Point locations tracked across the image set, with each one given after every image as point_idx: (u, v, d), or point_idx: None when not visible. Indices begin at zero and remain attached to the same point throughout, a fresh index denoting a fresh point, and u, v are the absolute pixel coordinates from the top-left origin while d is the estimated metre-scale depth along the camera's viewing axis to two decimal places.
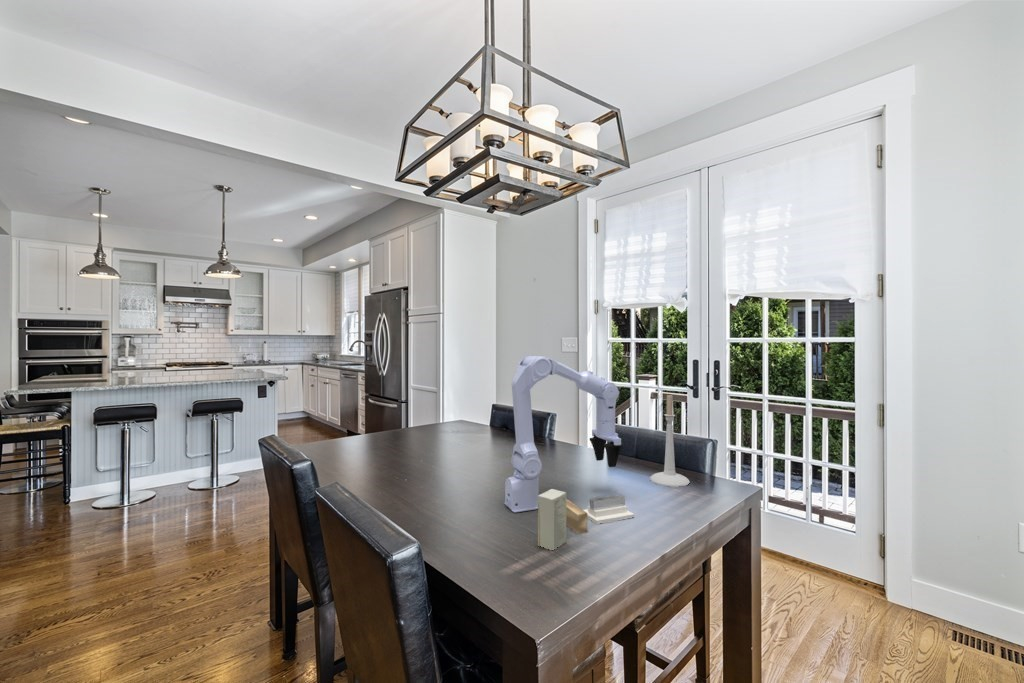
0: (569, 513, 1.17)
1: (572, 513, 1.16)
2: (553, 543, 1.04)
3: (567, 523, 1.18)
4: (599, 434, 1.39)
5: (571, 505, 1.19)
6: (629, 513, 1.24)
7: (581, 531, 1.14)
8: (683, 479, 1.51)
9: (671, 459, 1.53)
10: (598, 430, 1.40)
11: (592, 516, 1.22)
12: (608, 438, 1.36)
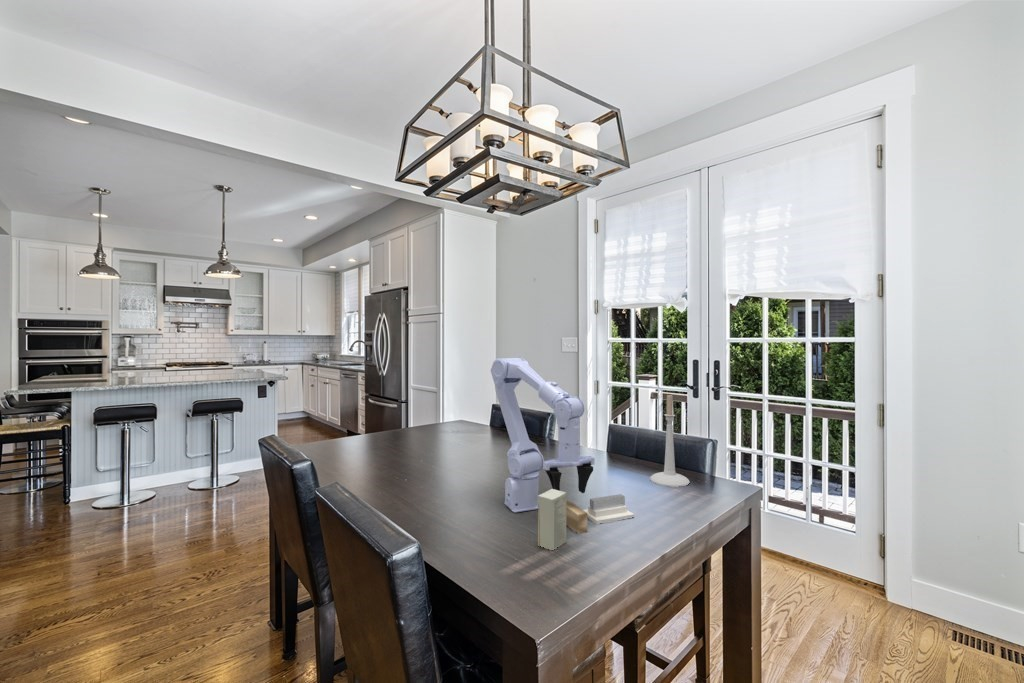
0: (569, 513, 1.17)
1: (572, 513, 1.16)
2: (553, 543, 1.04)
3: (567, 523, 1.18)
4: None
5: (571, 505, 1.19)
6: (629, 513, 1.24)
7: (581, 531, 1.14)
8: (683, 479, 1.51)
9: (671, 459, 1.53)
10: None
11: (592, 516, 1.22)
12: None
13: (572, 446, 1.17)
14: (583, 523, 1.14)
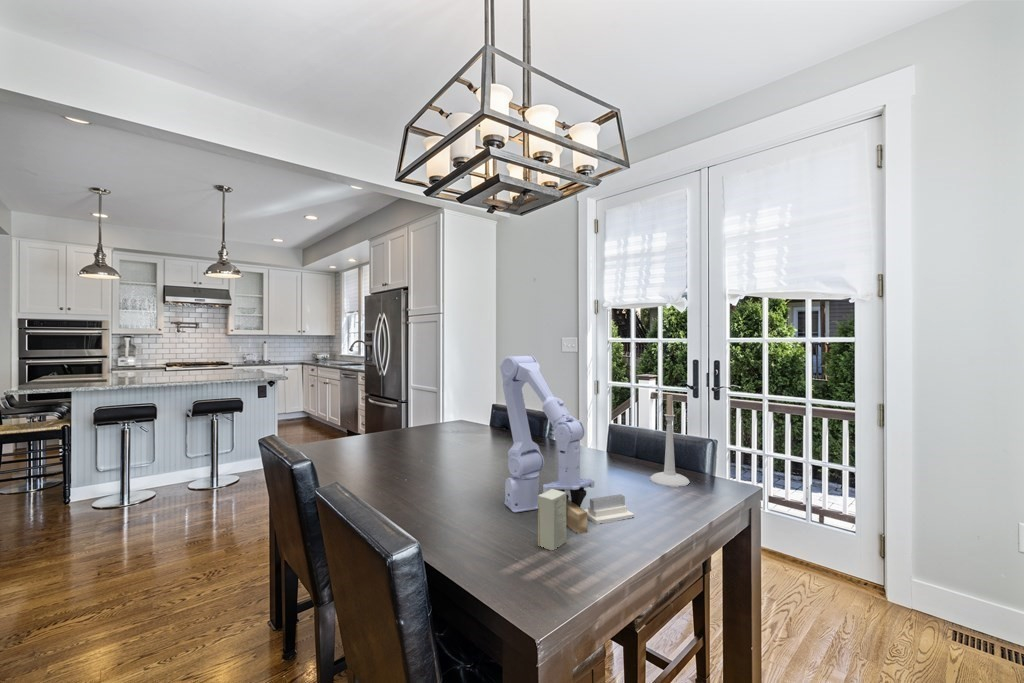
0: (569, 512, 1.17)
1: (572, 512, 1.16)
2: (553, 543, 1.04)
3: (567, 522, 1.18)
4: None
5: (571, 504, 1.19)
6: (629, 513, 1.24)
7: (581, 530, 1.14)
8: (683, 479, 1.51)
9: (671, 459, 1.53)
10: None
11: (592, 516, 1.22)
12: None
13: (572, 470, 1.17)
14: (583, 522, 1.14)
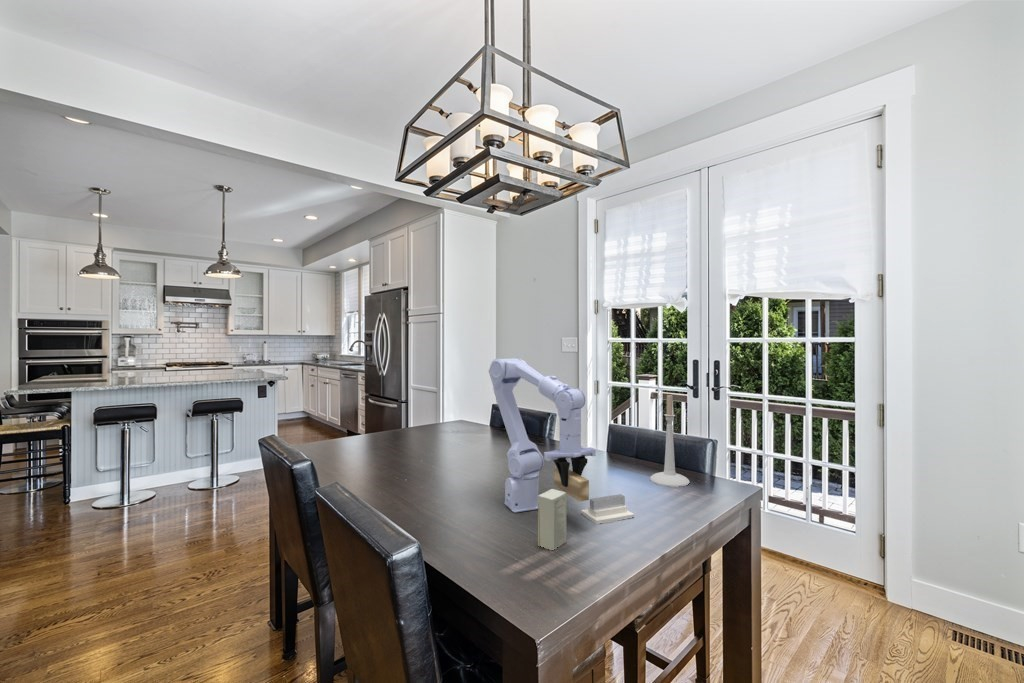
0: (571, 481, 1.17)
1: (574, 481, 1.15)
2: (553, 543, 1.04)
3: (569, 491, 1.18)
4: None
5: (573, 474, 1.19)
6: (629, 513, 1.24)
7: (583, 498, 1.14)
8: (683, 479, 1.51)
9: (671, 459, 1.53)
10: None
11: (592, 516, 1.22)
12: None
13: (573, 437, 1.17)
14: (585, 490, 1.14)
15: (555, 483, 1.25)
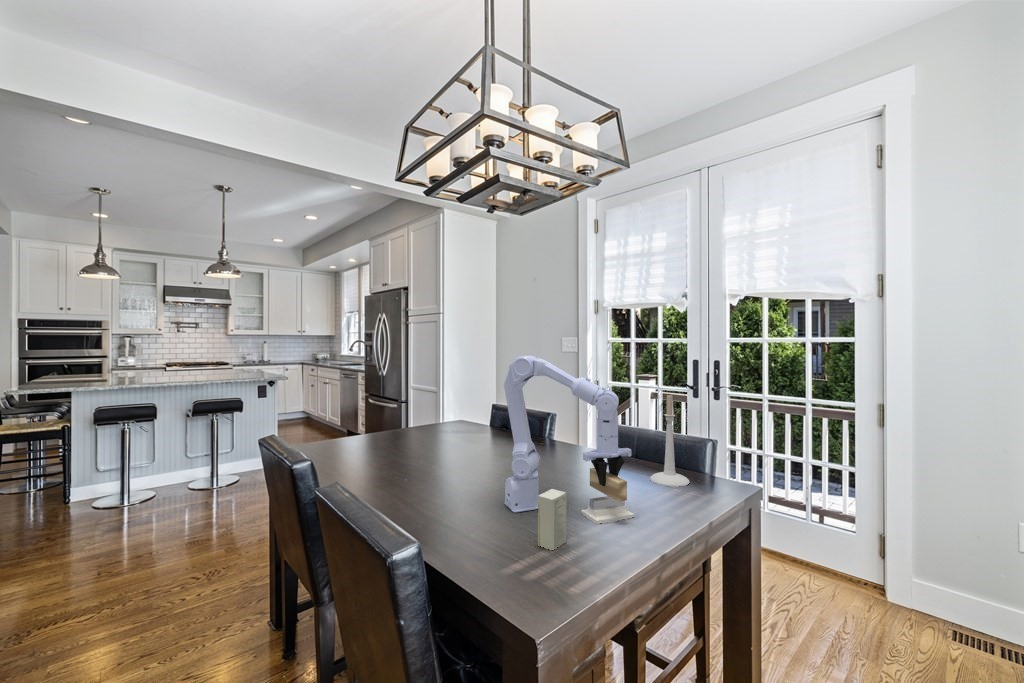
0: (609, 482, 1.21)
1: (612, 482, 1.20)
2: (553, 543, 1.04)
3: (606, 492, 1.22)
4: None
5: (610, 475, 1.24)
6: (629, 513, 1.24)
7: (621, 499, 1.18)
8: (683, 479, 1.51)
9: (671, 459, 1.53)
10: None
11: (592, 516, 1.22)
12: None
13: (611, 438, 1.22)
14: (623, 491, 1.18)
15: (591, 484, 1.30)
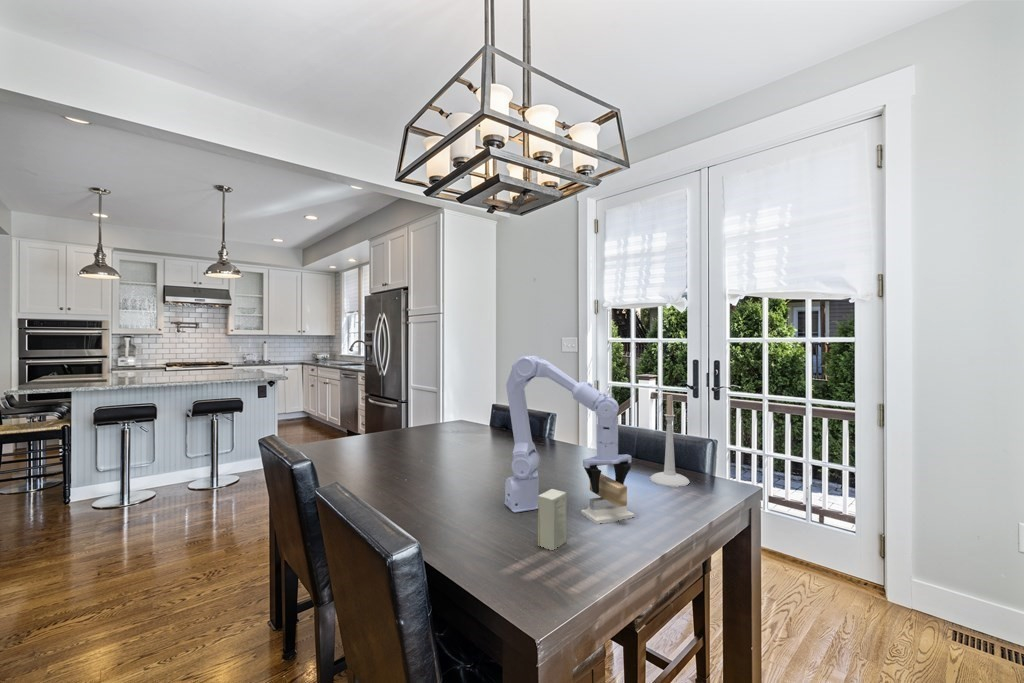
0: (609, 487, 1.21)
1: (612, 487, 1.20)
2: (553, 543, 1.04)
3: (606, 497, 1.22)
4: None
5: (610, 480, 1.24)
6: (629, 513, 1.24)
7: (621, 504, 1.18)
8: (683, 479, 1.51)
9: (671, 459, 1.53)
10: None
11: (592, 516, 1.22)
12: None
13: (611, 445, 1.22)
14: (623, 496, 1.18)
15: (591, 489, 1.30)
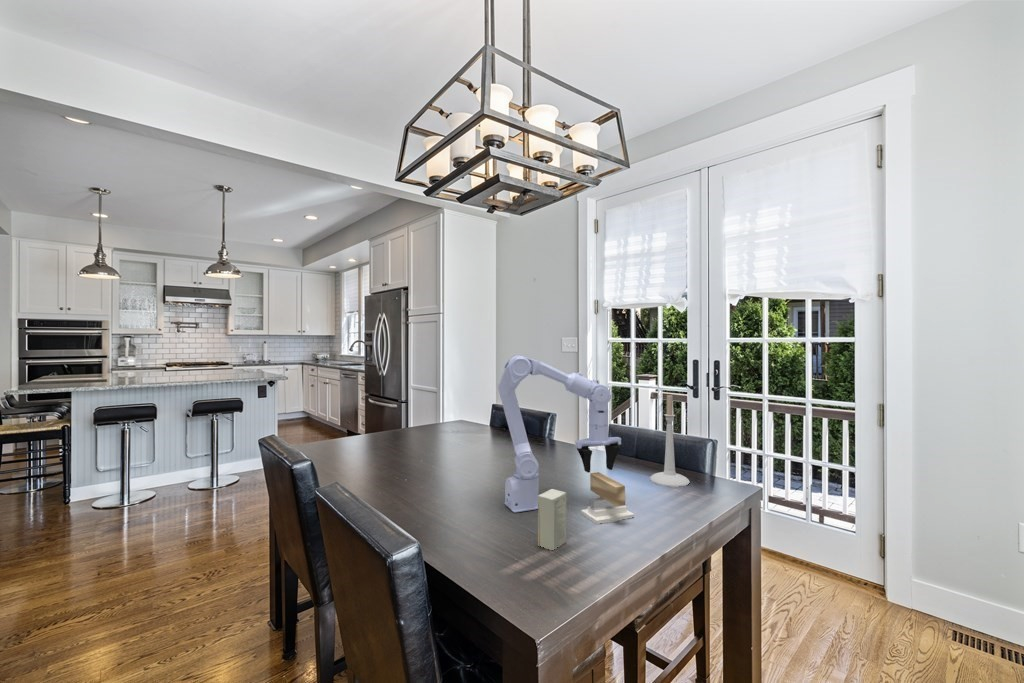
0: (607, 487, 1.22)
1: (610, 486, 1.20)
2: (553, 543, 1.04)
3: (605, 497, 1.23)
4: None
5: (609, 480, 1.24)
6: (629, 513, 1.24)
7: (619, 503, 1.18)
8: (683, 479, 1.51)
9: (671, 459, 1.53)
10: None
11: (592, 516, 1.22)
12: None
13: (602, 427, 1.31)
14: (621, 495, 1.18)
15: (591, 489, 1.30)
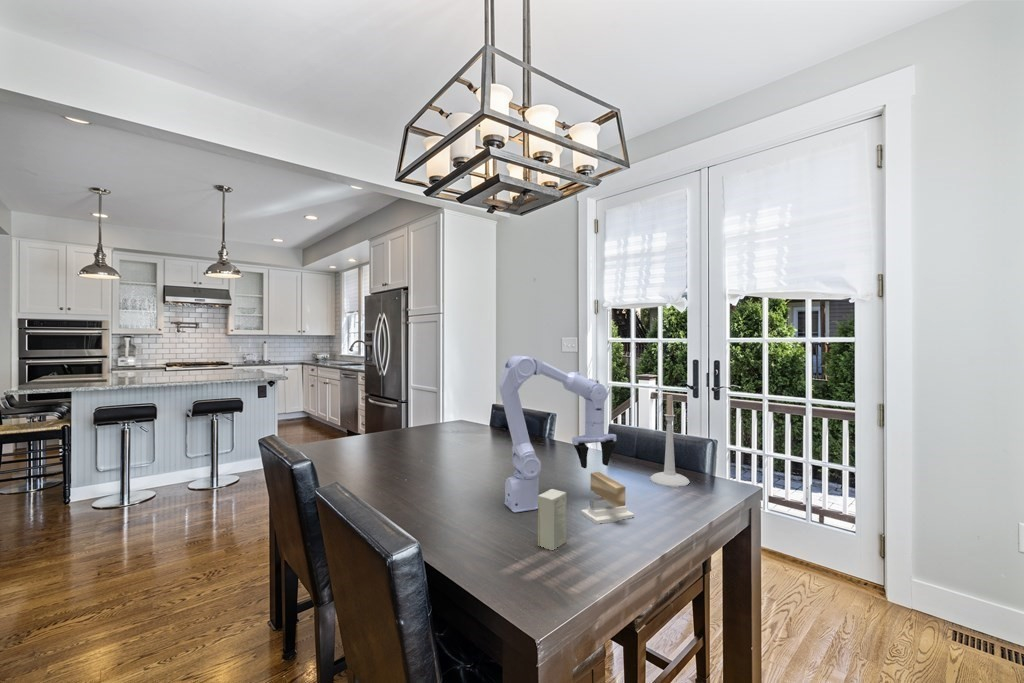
0: (608, 487, 1.21)
1: (610, 487, 1.20)
2: (553, 543, 1.04)
3: (605, 497, 1.23)
4: None
5: (609, 480, 1.24)
6: (629, 513, 1.24)
7: (619, 504, 1.18)
8: (683, 479, 1.51)
9: (671, 459, 1.53)
10: None
11: (592, 516, 1.22)
12: None
13: (598, 424, 1.35)
14: (621, 496, 1.18)
15: (591, 488, 1.30)
